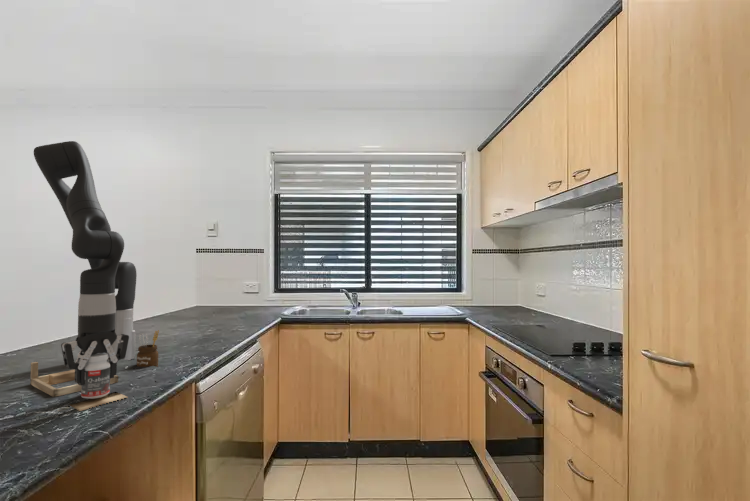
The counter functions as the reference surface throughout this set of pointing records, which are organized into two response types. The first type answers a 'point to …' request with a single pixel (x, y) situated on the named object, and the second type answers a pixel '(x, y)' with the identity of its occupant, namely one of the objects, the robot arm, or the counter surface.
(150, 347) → the utensil holder
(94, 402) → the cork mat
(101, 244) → the robot arm
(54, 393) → the rack
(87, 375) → the pill bottle
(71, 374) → the offcut top
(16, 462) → the counter surface
